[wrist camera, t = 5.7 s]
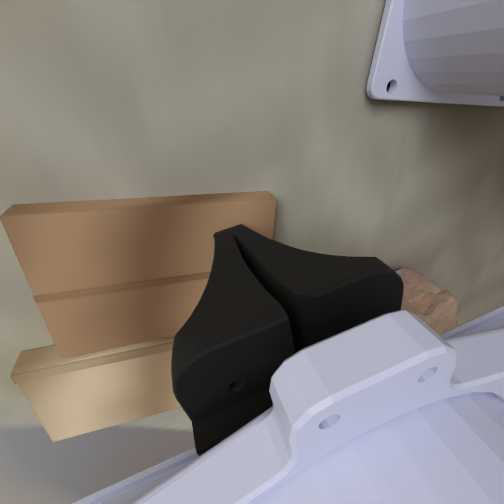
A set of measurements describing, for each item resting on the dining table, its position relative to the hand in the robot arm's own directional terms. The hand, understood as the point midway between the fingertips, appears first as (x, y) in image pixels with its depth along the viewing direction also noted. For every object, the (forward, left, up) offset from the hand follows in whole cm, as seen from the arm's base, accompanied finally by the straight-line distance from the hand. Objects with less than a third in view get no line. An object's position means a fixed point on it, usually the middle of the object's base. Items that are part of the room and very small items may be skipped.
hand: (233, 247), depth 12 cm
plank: (+3, +2, -1) cm, 4 cm away
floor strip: (+3, +8, -1) cm, 9 cm away
